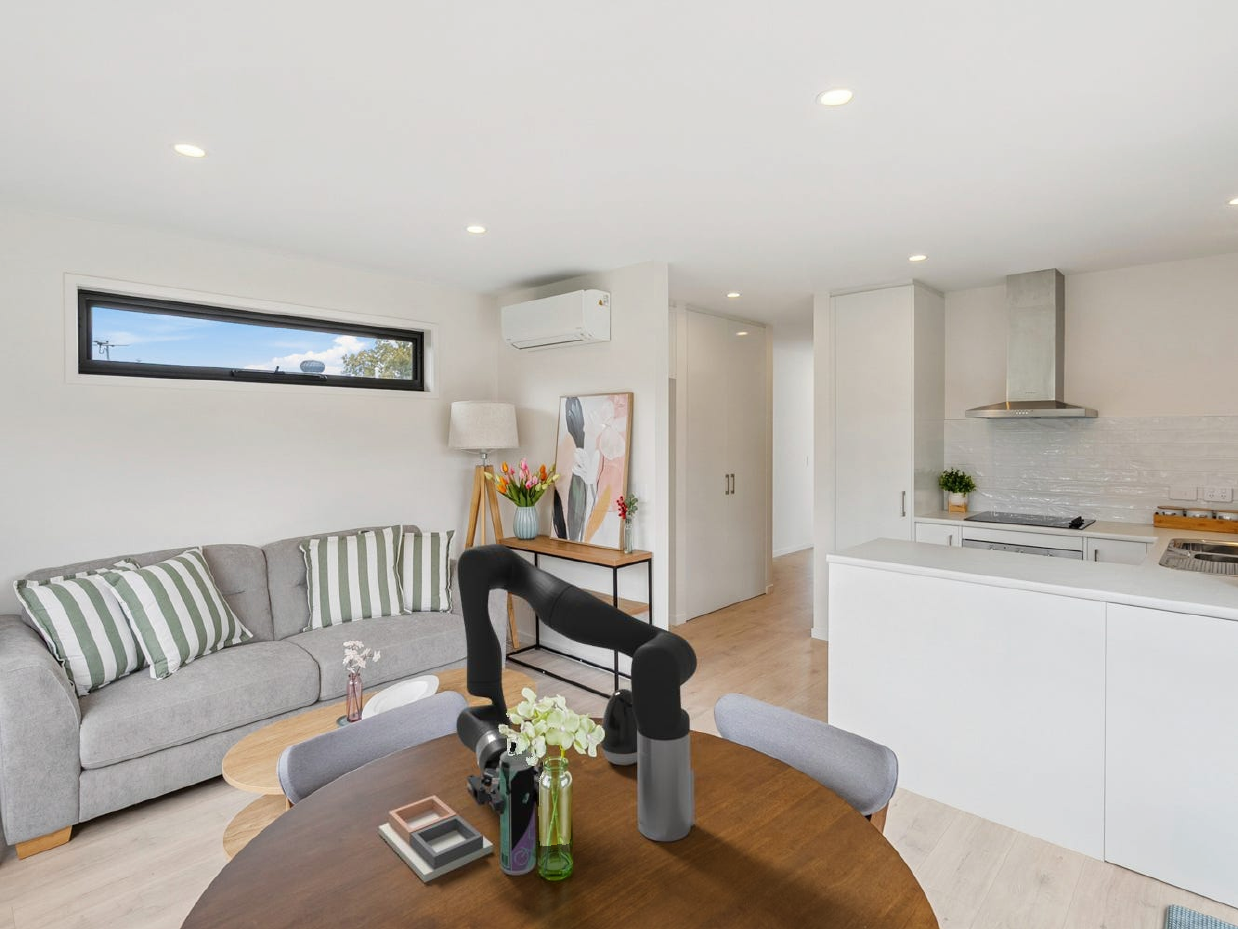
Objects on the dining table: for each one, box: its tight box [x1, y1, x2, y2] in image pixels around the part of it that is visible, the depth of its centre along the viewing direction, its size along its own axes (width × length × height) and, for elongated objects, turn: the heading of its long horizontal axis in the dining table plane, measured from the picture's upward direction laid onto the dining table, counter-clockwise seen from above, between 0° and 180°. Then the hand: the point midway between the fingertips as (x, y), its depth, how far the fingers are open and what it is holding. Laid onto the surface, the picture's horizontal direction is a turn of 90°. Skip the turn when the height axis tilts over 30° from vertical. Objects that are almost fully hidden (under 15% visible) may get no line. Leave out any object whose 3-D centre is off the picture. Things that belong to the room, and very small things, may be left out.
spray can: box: [499, 742, 536, 876], centre depth 106 cm, size 6×6×20 cm
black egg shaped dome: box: [599, 688, 637, 766], centre depth 143 cm, size 10×10×15 cm
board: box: [378, 794, 494, 883], centre depth 113 cm, size 12×18×3 cm, turn 41°
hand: (521, 804), depth 104 cm, fingers closed on spray can, 5 cm apart
